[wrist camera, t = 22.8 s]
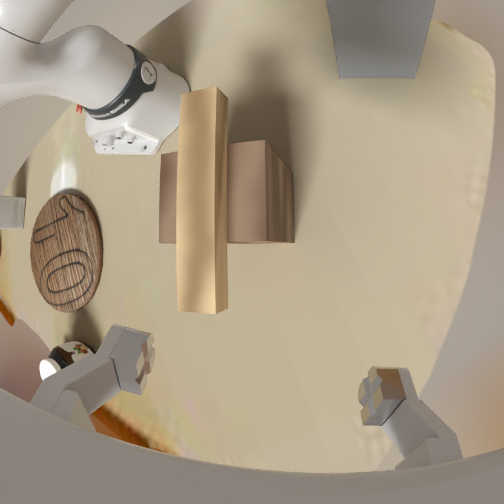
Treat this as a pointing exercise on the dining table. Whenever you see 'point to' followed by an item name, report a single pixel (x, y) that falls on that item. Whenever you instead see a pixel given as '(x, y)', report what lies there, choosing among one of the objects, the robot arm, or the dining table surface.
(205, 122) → the oak bar
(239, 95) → the dining table surface
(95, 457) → the robot arm
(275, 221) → the walnut block
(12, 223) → the skincare box
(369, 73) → the tall stand
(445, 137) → the dining table surface
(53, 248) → the trivet
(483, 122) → the dining table surface
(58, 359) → the spread jar
